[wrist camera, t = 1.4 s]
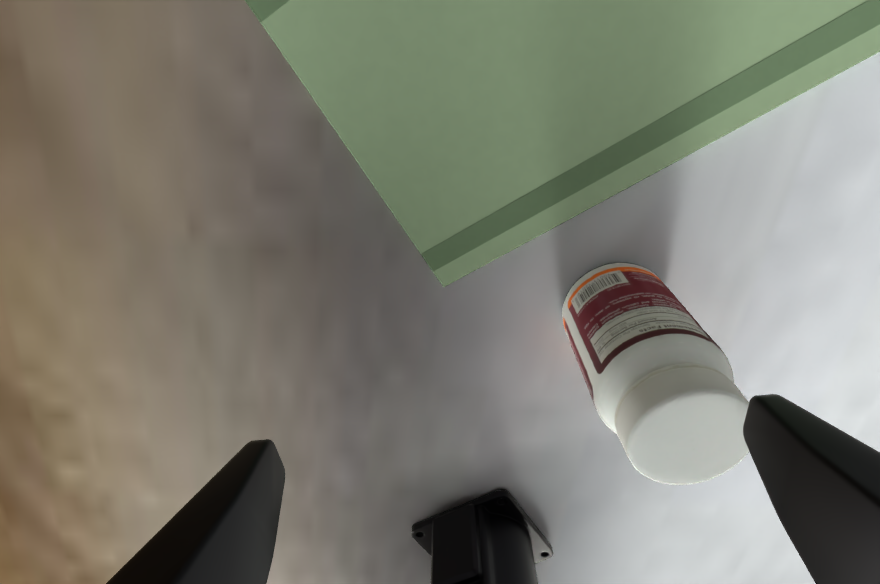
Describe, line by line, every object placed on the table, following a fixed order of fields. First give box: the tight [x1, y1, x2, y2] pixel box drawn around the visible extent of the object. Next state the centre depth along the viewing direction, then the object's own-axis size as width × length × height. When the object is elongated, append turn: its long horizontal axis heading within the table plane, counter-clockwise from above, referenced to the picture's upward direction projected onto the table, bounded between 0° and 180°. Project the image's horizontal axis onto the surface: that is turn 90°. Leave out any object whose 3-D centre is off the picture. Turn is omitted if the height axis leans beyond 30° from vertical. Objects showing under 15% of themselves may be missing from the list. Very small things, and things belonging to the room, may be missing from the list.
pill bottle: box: [562, 263, 750, 485], centre depth 19 cm, size 5×5×8 cm
